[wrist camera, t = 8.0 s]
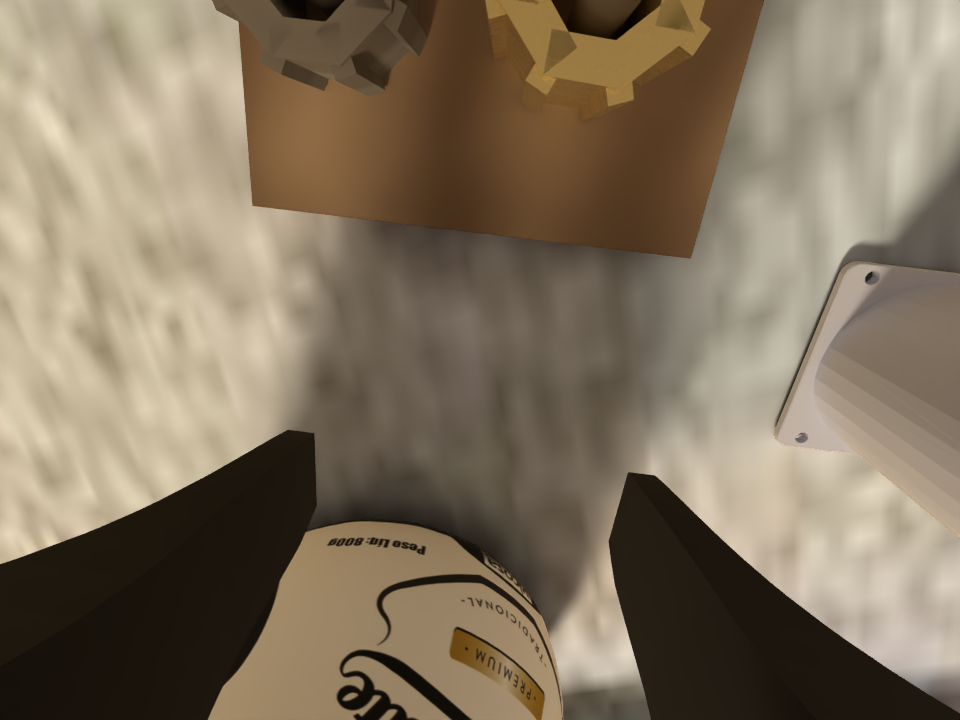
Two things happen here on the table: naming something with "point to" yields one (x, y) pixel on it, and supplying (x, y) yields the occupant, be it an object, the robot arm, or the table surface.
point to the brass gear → (591, 51)
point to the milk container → (394, 634)
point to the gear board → (478, 123)
